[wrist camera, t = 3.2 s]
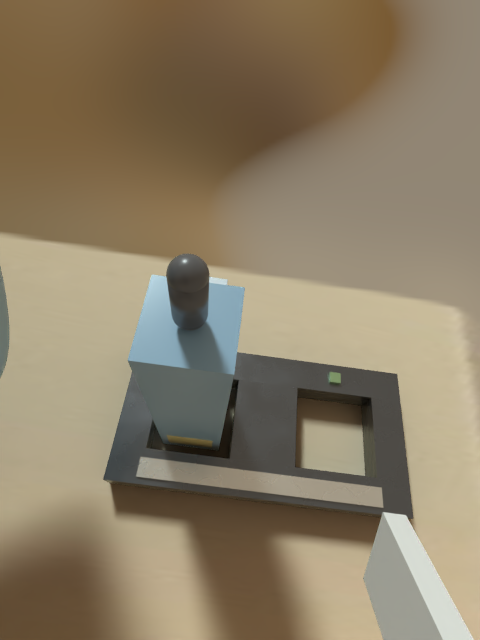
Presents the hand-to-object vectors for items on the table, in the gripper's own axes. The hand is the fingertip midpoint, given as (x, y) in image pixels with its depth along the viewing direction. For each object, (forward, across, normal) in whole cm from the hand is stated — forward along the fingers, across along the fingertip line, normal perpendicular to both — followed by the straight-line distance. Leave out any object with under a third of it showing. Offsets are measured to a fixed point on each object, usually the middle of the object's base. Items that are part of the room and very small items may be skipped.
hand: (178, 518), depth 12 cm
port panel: (+15, +4, -5) cm, 16 cm away
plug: (+15, -1, -5) cm, 16 cm away
